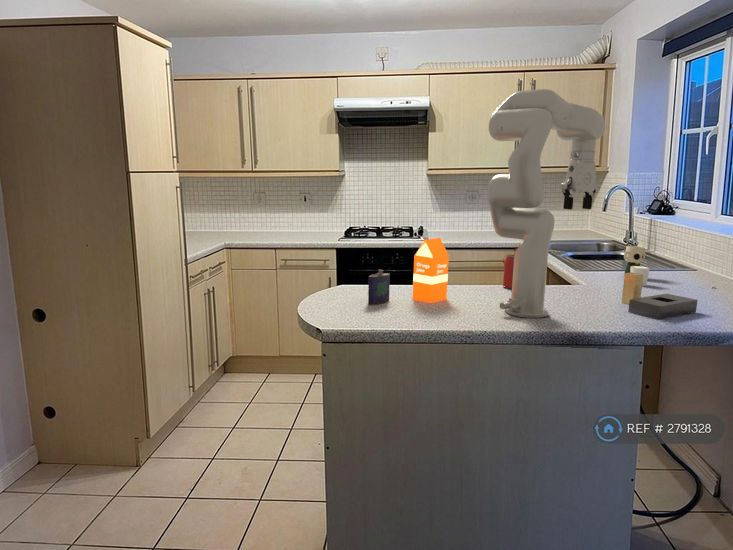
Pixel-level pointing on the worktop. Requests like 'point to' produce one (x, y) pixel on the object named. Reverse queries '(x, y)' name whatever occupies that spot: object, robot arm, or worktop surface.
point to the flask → (378, 288)
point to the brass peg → (632, 286)
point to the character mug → (634, 256)
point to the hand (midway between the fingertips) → (577, 209)
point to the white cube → (641, 272)
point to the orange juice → (430, 271)
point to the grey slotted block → (662, 306)
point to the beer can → (508, 271)
